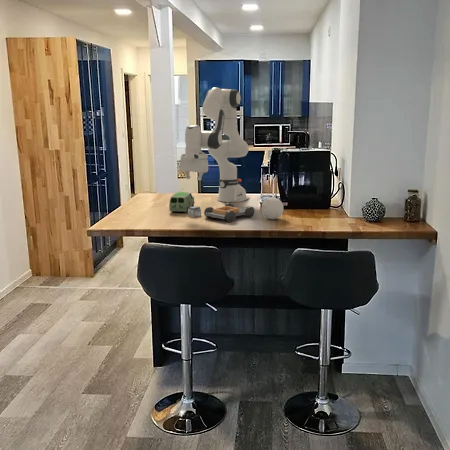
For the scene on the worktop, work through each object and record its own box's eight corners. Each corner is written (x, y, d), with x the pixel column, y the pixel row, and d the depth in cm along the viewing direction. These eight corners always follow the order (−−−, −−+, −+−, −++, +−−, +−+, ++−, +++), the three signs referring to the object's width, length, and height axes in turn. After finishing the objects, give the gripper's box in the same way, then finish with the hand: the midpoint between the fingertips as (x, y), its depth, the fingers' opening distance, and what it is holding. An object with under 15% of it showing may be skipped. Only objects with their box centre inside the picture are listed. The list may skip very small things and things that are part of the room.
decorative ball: (257, 217, 283) (257, 196, 280) (276, 215, 288) (276, 195, 285) (267, 222, 272) (268, 200, 270) (287, 220, 277) (287, 198, 274)
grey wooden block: (195, 214, 293) (195, 205, 292) (201, 215, 290) (200, 206, 289) (188, 216, 289) (187, 207, 288) (193, 217, 286) (193, 208, 285)
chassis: (232, 211, 299) (232, 201, 298) (255, 216, 287) (255, 205, 286) (202, 218, 282) (202, 207, 281) (226, 223, 270) (226, 212, 269)
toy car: (195, 205, 318) (194, 189, 316) (186, 214, 294) (186, 197, 292) (178, 205, 320) (178, 189, 317) (168, 213, 296) (168, 196, 294)
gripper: (176, 154, 287) (177, 178, 290) (201, 156, 273) (202, 181, 276) (185, 153, 291) (185, 177, 294) (210, 155, 278) (210, 180, 281)
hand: (193, 179), depth 285 cm, fingers open, 8 cm apart
